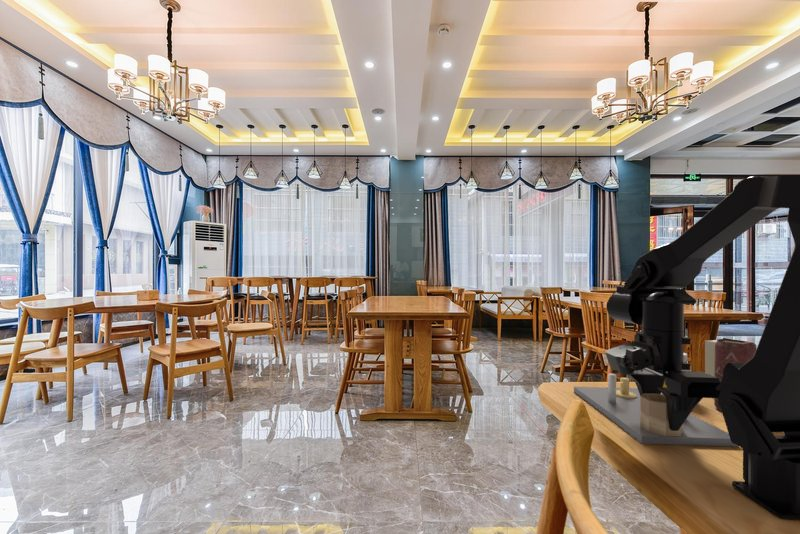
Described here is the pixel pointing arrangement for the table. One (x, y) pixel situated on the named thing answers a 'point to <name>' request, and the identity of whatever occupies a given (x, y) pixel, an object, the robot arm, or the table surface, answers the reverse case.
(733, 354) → the can
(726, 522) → the table surface
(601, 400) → the slate board
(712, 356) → the skincare box
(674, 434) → the napkin ring
